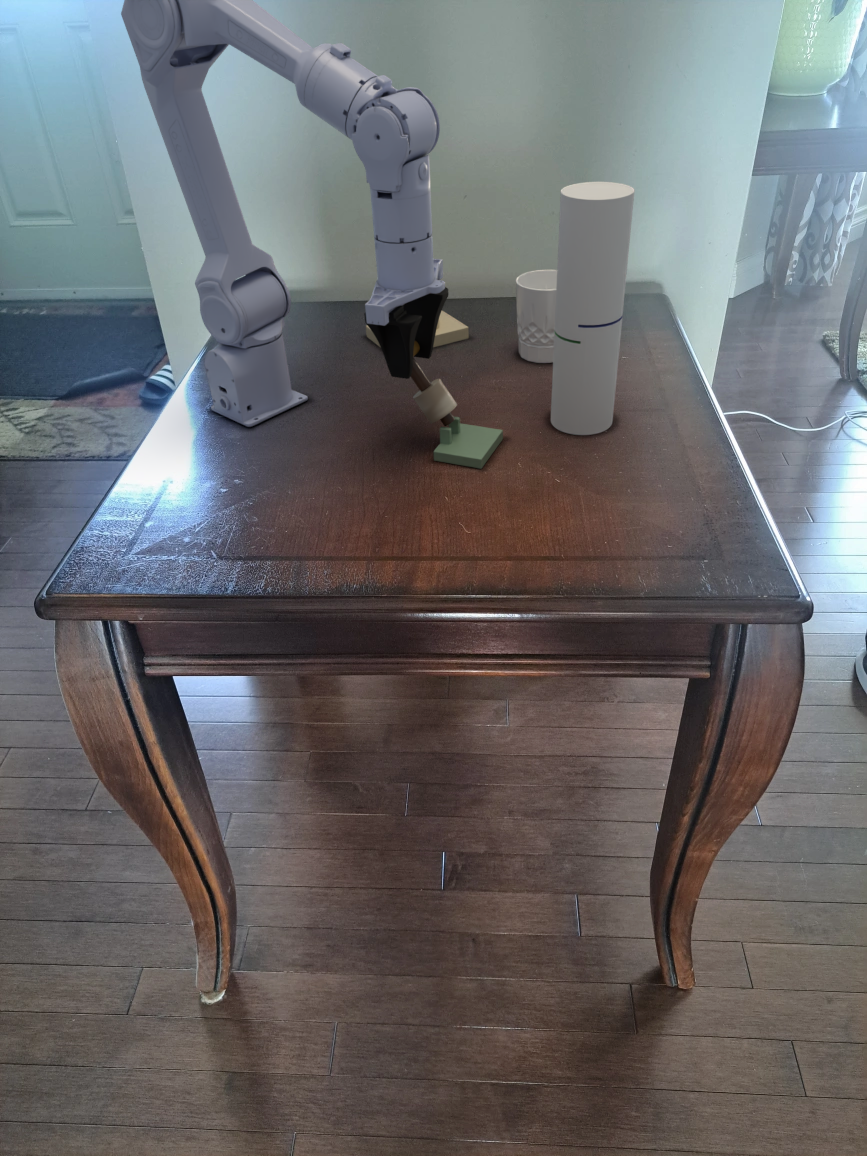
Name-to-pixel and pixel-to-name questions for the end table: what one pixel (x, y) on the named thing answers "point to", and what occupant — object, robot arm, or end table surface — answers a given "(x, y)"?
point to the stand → (467, 444)
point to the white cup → (536, 314)
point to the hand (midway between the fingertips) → (411, 366)
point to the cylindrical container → (589, 304)
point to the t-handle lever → (432, 395)
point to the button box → (440, 331)
